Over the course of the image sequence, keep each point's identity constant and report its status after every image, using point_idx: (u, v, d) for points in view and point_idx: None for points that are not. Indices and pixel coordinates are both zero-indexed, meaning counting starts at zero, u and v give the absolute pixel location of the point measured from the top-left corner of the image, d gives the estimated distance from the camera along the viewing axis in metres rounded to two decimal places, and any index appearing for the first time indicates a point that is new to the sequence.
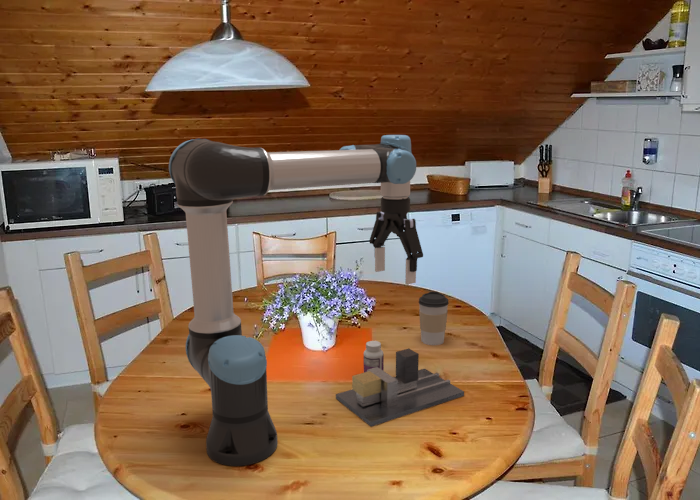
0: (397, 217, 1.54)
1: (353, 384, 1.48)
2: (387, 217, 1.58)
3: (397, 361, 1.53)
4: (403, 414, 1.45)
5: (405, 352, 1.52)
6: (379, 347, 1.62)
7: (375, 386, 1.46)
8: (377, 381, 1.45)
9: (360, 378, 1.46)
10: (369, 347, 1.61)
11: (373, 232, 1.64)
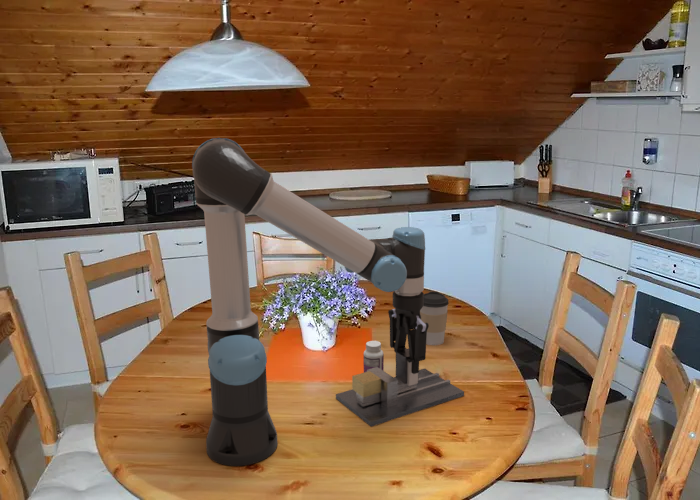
0: (411, 313, 1.46)
1: (353, 384, 1.48)
2: None
3: (397, 361, 1.53)
4: (403, 414, 1.45)
5: (405, 352, 1.52)
6: (379, 347, 1.62)
7: (375, 386, 1.46)
8: (377, 381, 1.45)
9: (360, 378, 1.46)
10: (369, 347, 1.61)
11: (391, 333, 1.55)
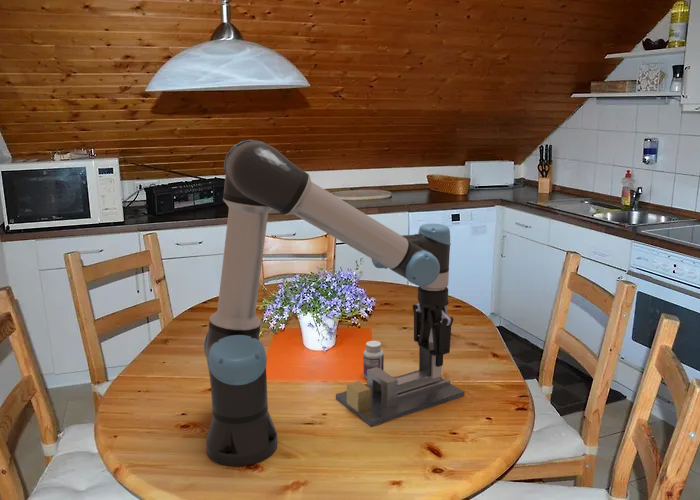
0: (436, 308, 1.50)
1: None
2: (423, 303, 1.54)
3: (421, 354, 1.56)
4: (403, 414, 1.45)
5: (429, 346, 1.56)
6: (379, 347, 1.62)
7: (363, 396, 1.44)
8: (359, 396, 1.43)
9: (351, 403, 1.46)
10: (369, 347, 1.61)
11: (415, 328, 1.59)
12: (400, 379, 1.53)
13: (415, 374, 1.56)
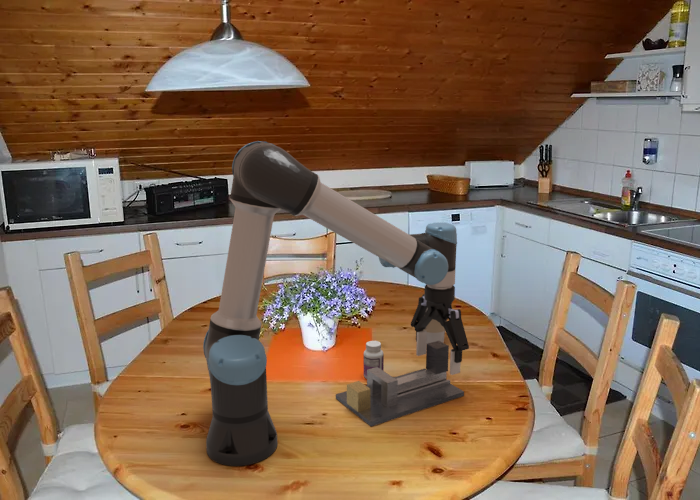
0: (442, 306, 1.52)
1: None
2: (431, 304, 1.55)
3: (428, 353, 1.57)
4: (403, 414, 1.45)
5: (435, 344, 1.57)
6: (379, 347, 1.62)
7: (363, 396, 1.44)
8: (359, 396, 1.43)
9: (351, 403, 1.46)
10: (369, 347, 1.61)
11: (415, 316, 1.62)
12: (407, 377, 1.54)
13: (422, 372, 1.57)
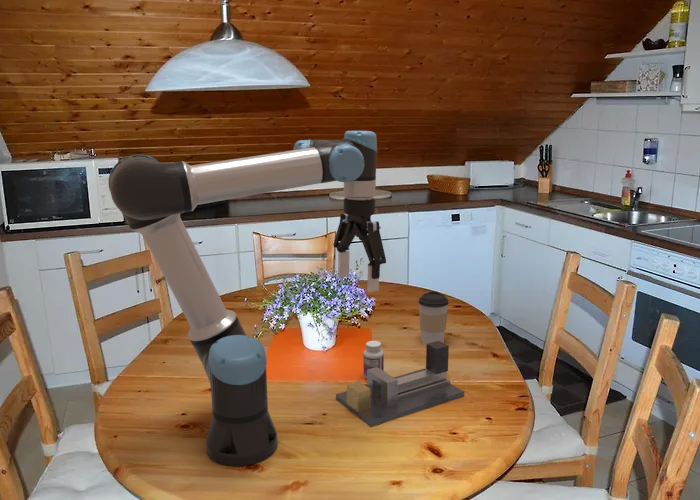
0: (360, 219, 1.43)
1: None
2: (351, 219, 1.47)
3: (428, 353, 1.57)
4: (403, 414, 1.45)
5: (435, 344, 1.57)
6: (379, 347, 1.62)
7: (363, 396, 1.44)
8: (359, 396, 1.43)
9: (351, 403, 1.46)
10: (369, 347, 1.61)
11: (337, 235, 1.53)
12: (407, 377, 1.54)
13: (422, 372, 1.57)
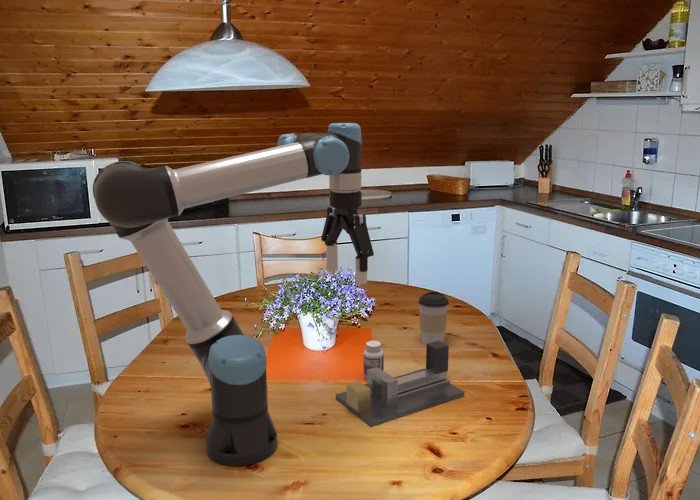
0: (347, 212, 1.42)
1: None
2: (337, 212, 1.46)
3: (428, 353, 1.57)
4: (403, 414, 1.45)
5: (435, 344, 1.57)
6: (379, 347, 1.62)
7: (363, 396, 1.44)
8: (359, 396, 1.43)
9: (351, 403, 1.46)
10: (369, 347, 1.61)
11: (324, 229, 1.52)
12: (407, 377, 1.54)
13: (422, 372, 1.57)
